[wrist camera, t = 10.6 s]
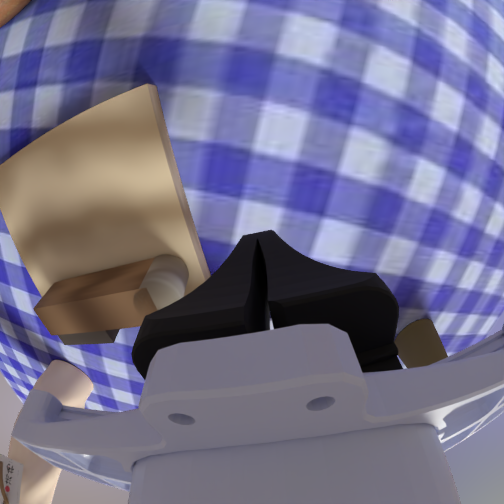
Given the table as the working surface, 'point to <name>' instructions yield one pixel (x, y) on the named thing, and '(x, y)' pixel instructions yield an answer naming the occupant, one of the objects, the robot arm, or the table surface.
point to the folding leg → (113, 296)
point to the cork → (420, 344)
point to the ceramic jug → (10, 9)
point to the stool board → (100, 198)
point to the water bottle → (28, 463)
